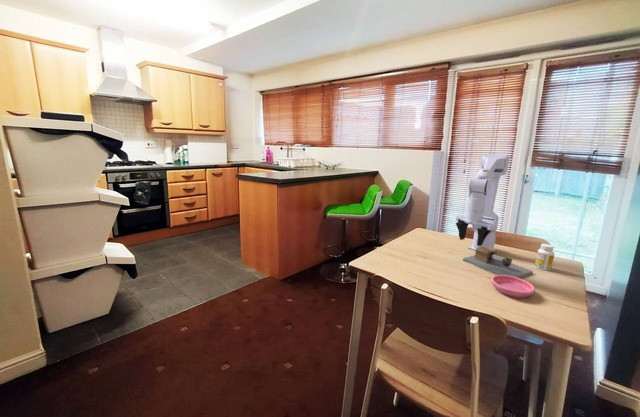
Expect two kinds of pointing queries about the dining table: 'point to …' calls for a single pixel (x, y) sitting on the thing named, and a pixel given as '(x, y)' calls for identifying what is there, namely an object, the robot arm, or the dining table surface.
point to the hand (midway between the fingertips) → (470, 242)
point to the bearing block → (484, 254)
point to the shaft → (501, 259)
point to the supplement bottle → (544, 257)
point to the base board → (499, 267)
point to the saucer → (512, 286)
